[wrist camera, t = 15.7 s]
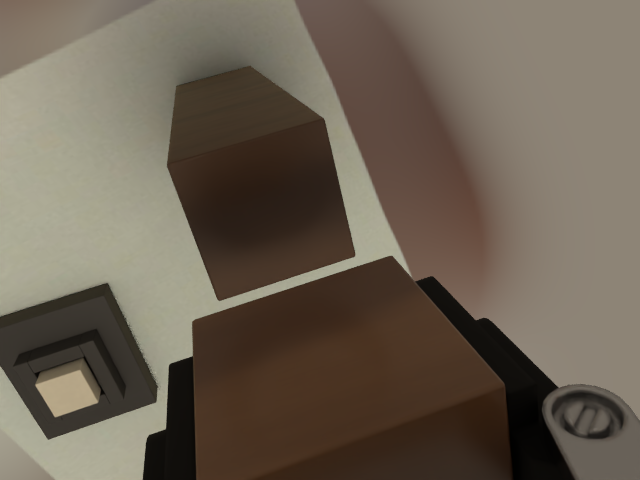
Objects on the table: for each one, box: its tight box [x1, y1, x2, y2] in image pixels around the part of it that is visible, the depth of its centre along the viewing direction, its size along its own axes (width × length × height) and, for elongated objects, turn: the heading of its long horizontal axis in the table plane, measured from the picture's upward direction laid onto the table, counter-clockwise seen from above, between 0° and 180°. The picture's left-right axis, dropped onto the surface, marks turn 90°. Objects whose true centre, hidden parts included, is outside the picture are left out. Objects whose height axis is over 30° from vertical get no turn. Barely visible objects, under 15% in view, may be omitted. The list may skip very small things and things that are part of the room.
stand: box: [167, 66, 355, 301], centre depth 31 cm, size 6×6×24 cm
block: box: [192, 256, 514, 480], centre depth 10 cm, size 4×4×4 cm
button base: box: [0, 284, 157, 439], centre depth 45 cm, size 12×10×4 cm
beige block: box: [35, 358, 101, 417], centre depth 43 cm, size 4×4×2 cm
